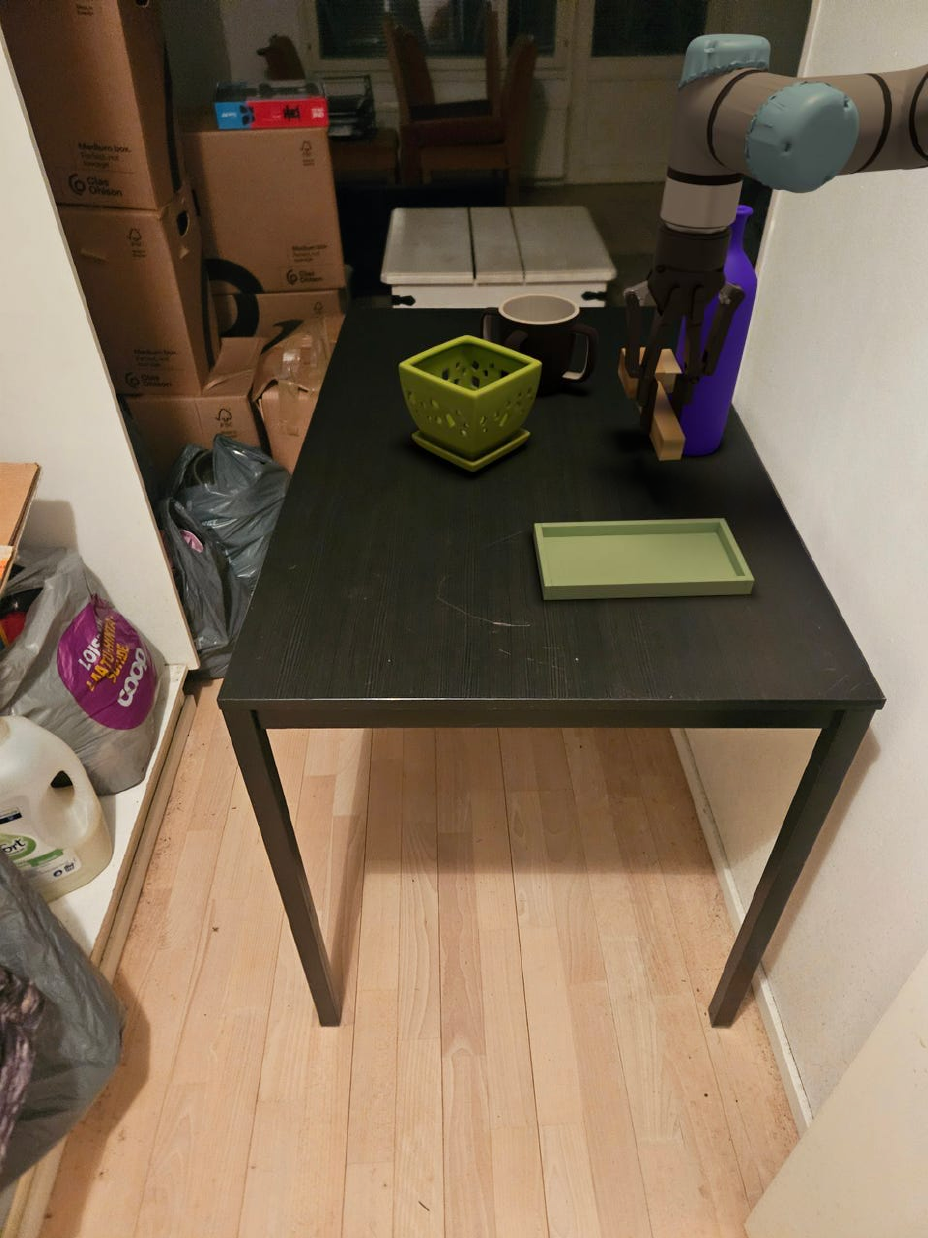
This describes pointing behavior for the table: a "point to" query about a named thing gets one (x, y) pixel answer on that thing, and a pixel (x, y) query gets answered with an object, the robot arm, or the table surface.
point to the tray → (639, 559)
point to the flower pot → (470, 400)
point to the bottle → (716, 391)
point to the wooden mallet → (659, 405)
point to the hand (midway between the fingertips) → (658, 428)
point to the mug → (543, 335)
